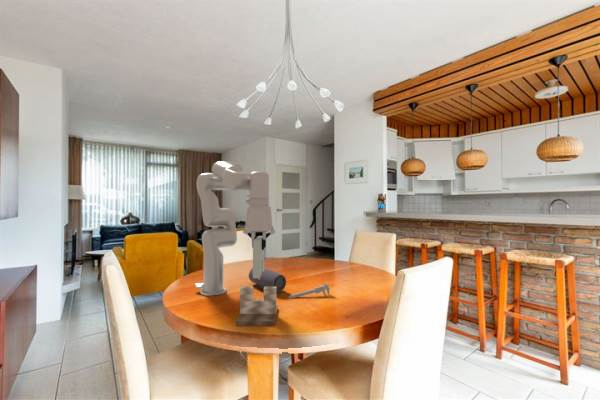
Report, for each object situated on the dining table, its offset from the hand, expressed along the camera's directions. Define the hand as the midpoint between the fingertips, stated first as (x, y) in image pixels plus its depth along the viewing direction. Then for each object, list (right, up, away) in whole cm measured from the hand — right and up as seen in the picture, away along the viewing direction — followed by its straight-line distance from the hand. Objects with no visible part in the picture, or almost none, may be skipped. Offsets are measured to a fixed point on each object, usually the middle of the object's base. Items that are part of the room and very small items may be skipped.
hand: (259, 249), depth 111 cm
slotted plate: (0, -10, 0) cm, 10 cm away
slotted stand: (0, -27, 0) cm, 27 cm away
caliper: (+21, -27, +24) cm, 42 cm away
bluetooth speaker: (-1, -27, +36) cm, 45 cm away
